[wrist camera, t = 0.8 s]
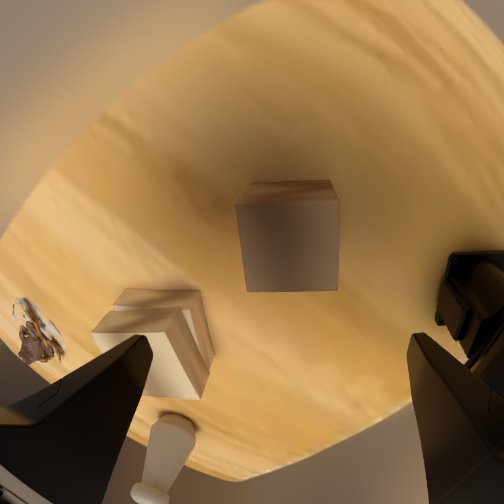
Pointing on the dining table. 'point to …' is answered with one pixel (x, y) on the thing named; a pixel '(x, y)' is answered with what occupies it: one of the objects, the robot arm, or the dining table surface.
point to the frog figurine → (37, 335)
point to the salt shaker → (164, 458)
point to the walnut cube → (289, 236)
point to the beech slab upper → (159, 349)
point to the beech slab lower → (172, 298)
